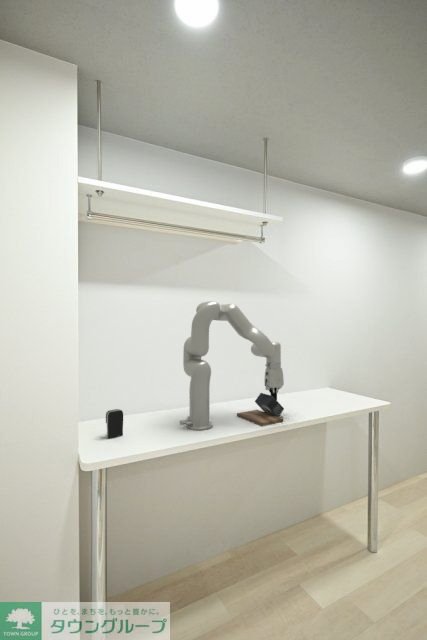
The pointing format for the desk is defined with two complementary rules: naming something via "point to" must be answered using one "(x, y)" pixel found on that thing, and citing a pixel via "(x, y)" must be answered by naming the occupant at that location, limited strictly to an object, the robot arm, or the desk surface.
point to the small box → (269, 404)
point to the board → (260, 417)
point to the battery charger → (114, 423)
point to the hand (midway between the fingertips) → (273, 400)
